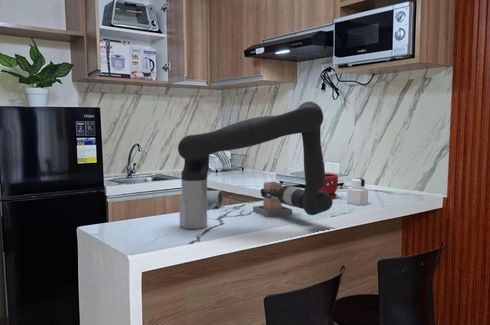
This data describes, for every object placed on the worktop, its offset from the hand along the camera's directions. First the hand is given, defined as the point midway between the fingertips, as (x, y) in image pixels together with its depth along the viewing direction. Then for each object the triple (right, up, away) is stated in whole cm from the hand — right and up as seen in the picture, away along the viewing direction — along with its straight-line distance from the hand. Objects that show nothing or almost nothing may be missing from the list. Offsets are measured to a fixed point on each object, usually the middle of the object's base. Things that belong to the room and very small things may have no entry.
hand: (270, 190), depth 181 cm
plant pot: (+30, -6, +38) cm, 49 cm away
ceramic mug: (-26, -9, +10) cm, 29 cm away
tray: (+1, -9, -1) cm, 9 cm away
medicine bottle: (+43, -8, +22) cm, 49 cm away
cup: (+1, -9, -1) cm, 9 cm away
